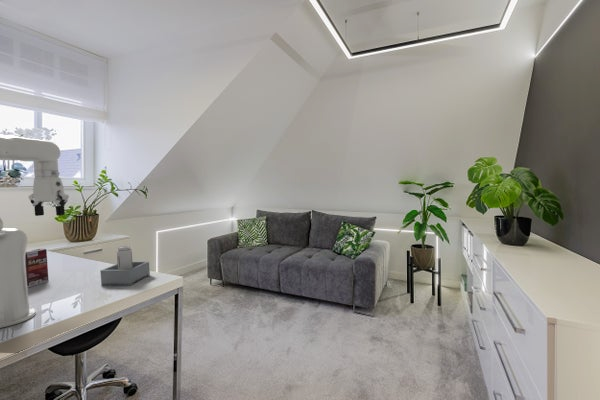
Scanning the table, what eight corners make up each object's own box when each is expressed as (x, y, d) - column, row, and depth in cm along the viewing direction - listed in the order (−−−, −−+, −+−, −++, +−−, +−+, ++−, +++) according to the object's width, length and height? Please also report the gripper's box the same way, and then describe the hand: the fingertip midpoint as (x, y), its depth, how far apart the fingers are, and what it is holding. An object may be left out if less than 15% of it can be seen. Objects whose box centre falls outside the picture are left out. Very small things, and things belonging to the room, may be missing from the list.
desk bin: (130, 285, 125) (129, 270, 124) (101, 285, 126) (100, 270, 126) (149, 275, 139) (148, 261, 138) (123, 275, 140) (122, 261, 140)
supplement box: (29, 287, 125) (26, 253, 124) (20, 287, 126) (17, 253, 125) (49, 281, 134) (47, 248, 133) (41, 280, 135) (39, 248, 134)
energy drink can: (116, 278, 132) (114, 247, 131) (130, 275, 137) (128, 245, 136) (121, 281, 128) (118, 249, 127) (135, 277, 133) (133, 246, 132)
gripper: (73, 174, 119) (76, 214, 120) (37, 175, 121) (40, 214, 122) (57, 174, 112) (60, 216, 113) (18, 175, 113) (22, 216, 114)
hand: (50, 215), depth 117 cm, fingers open, 9 cm apart
